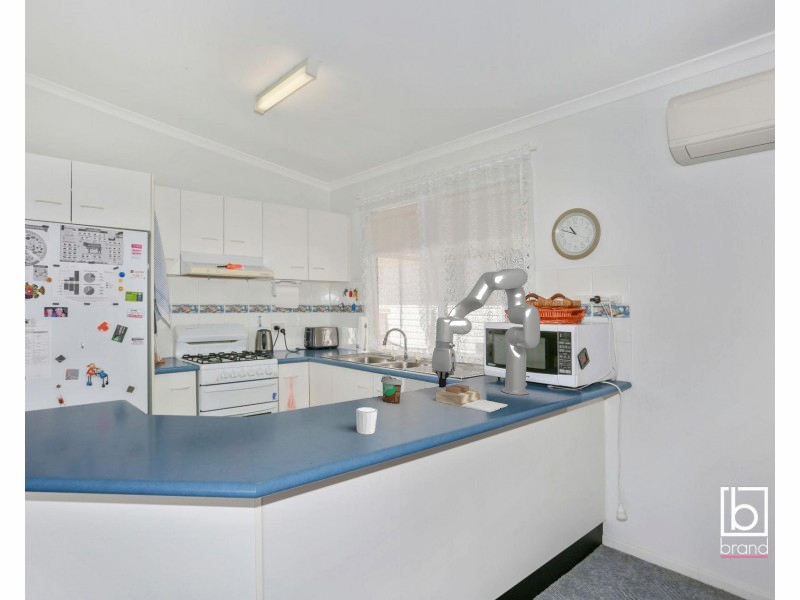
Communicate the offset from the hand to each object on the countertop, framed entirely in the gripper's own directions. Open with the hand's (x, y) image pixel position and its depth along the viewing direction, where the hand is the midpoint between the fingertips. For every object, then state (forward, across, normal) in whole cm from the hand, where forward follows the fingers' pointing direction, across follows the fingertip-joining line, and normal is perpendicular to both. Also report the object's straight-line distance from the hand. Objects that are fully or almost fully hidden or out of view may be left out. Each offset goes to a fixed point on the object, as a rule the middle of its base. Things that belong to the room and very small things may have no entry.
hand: (442, 387), depth 193 cm
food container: (+5, +11, +24) cm, 27 cm away
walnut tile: (0, -8, 0) cm, 8 cm away
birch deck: (+5, -8, 0) cm, 9 cm away
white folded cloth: (+5, -21, 0) cm, 21 cm away
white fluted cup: (+5, -12, +61) cm, 62 cm away
